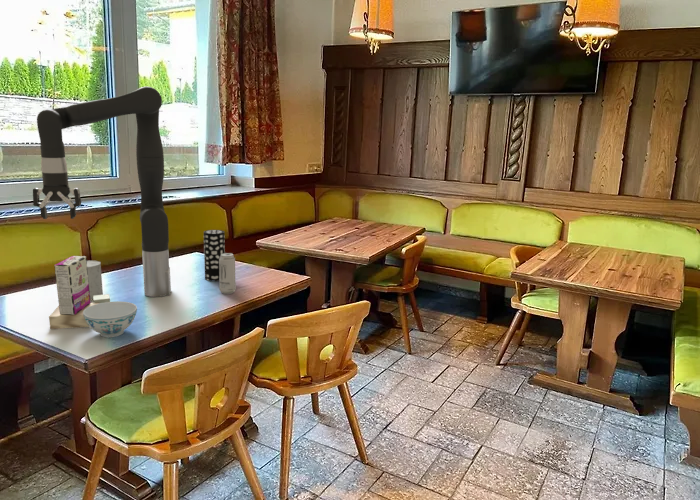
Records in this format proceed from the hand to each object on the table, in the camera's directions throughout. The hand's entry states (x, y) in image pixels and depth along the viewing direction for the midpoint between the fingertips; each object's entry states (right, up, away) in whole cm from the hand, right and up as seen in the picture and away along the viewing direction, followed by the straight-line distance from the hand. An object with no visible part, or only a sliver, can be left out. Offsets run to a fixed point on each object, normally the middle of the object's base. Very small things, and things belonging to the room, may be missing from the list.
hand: (59, 218), depth 181 cm
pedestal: (+11, -34, -10) cm, 37 cm away
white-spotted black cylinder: (+43, -23, +41) cm, 64 cm away
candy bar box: (+11, -30, -11) cm, 34 cm away
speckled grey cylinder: (+3, -28, +14) cm, 31 cm away
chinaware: (+27, -37, -18) cm, 49 cm away
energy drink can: (+52, -27, +25) cm, 64 cm away
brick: (+15, -32, 0) cm, 35 cm away
